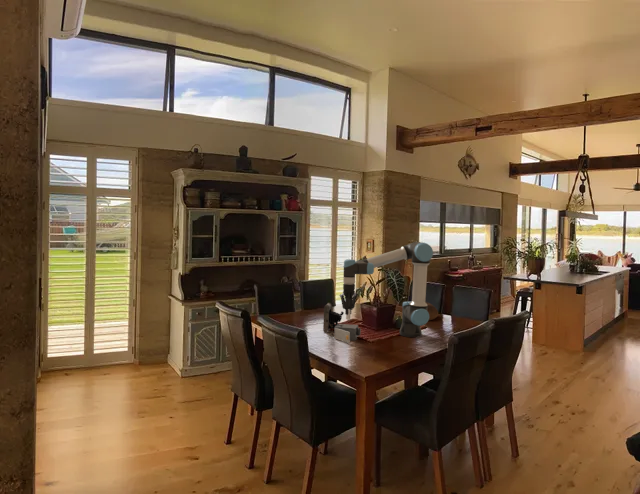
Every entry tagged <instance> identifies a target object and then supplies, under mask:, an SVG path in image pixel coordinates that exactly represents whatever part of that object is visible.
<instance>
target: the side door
mask: <svg viewBox="0 0 640 494" xmlns="http://www.w3.org/2000/svg"><path fill="white" fill-rule="evenodd" d="M333 339H336V340H338V341H342V342H343V343H348V344H350V343H351V342H350V341H351V340H350V332H348V331H344V330H341V329H338V328H335V329H334V338H333Z"/></svg>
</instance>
